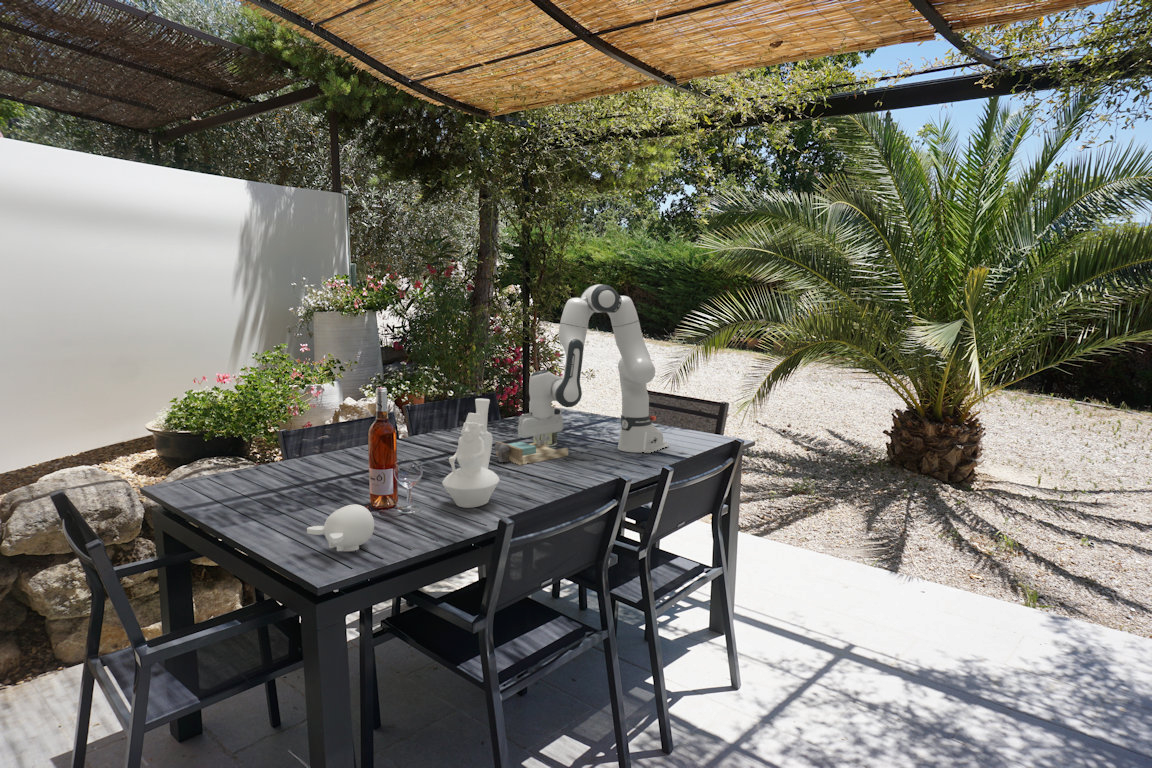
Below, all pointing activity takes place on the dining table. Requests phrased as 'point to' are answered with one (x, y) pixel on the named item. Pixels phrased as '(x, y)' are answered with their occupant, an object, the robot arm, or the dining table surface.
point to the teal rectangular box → (525, 447)
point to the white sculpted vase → (473, 461)
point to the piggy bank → (346, 528)
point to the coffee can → (549, 439)
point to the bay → (517, 457)
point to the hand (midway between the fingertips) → (540, 445)
